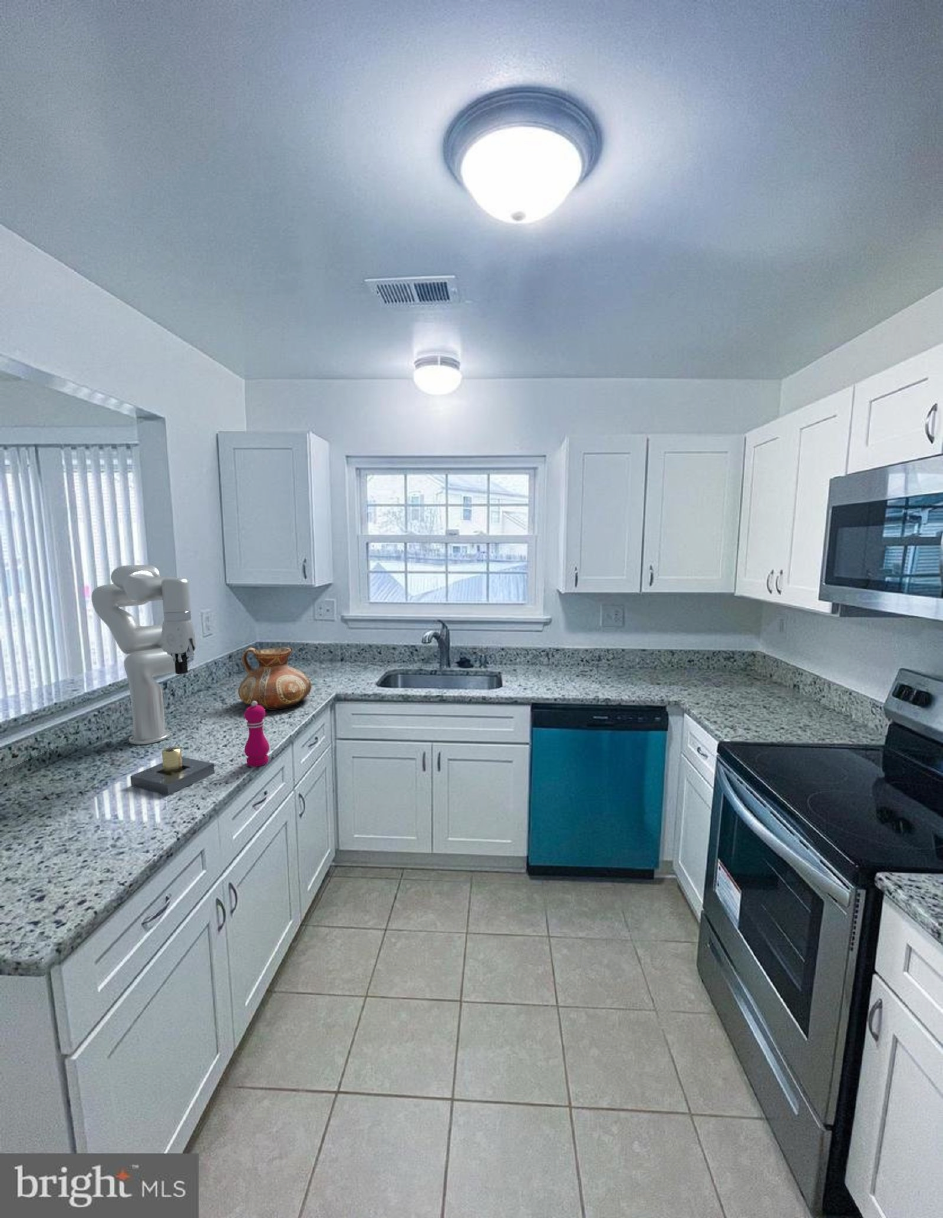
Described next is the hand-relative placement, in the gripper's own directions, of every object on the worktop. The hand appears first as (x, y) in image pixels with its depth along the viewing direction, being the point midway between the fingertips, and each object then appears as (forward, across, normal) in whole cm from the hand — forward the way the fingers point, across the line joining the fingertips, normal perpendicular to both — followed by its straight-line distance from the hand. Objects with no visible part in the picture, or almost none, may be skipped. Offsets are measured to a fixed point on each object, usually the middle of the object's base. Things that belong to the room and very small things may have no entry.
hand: (181, 673), depth 165 cm
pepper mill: (+27, +27, +3) cm, 39 cm away
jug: (+27, -12, +54) cm, 62 cm away
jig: (+27, +13, -15) cm, 34 cm away
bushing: (+27, +13, -15) cm, 34 cm away
